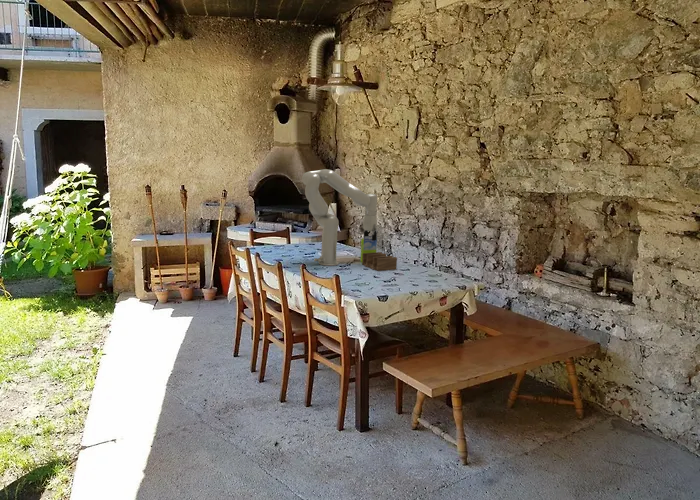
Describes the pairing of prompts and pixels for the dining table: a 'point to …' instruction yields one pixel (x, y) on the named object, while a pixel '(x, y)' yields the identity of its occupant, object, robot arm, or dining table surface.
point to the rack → (379, 261)
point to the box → (368, 246)
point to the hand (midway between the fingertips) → (370, 239)
